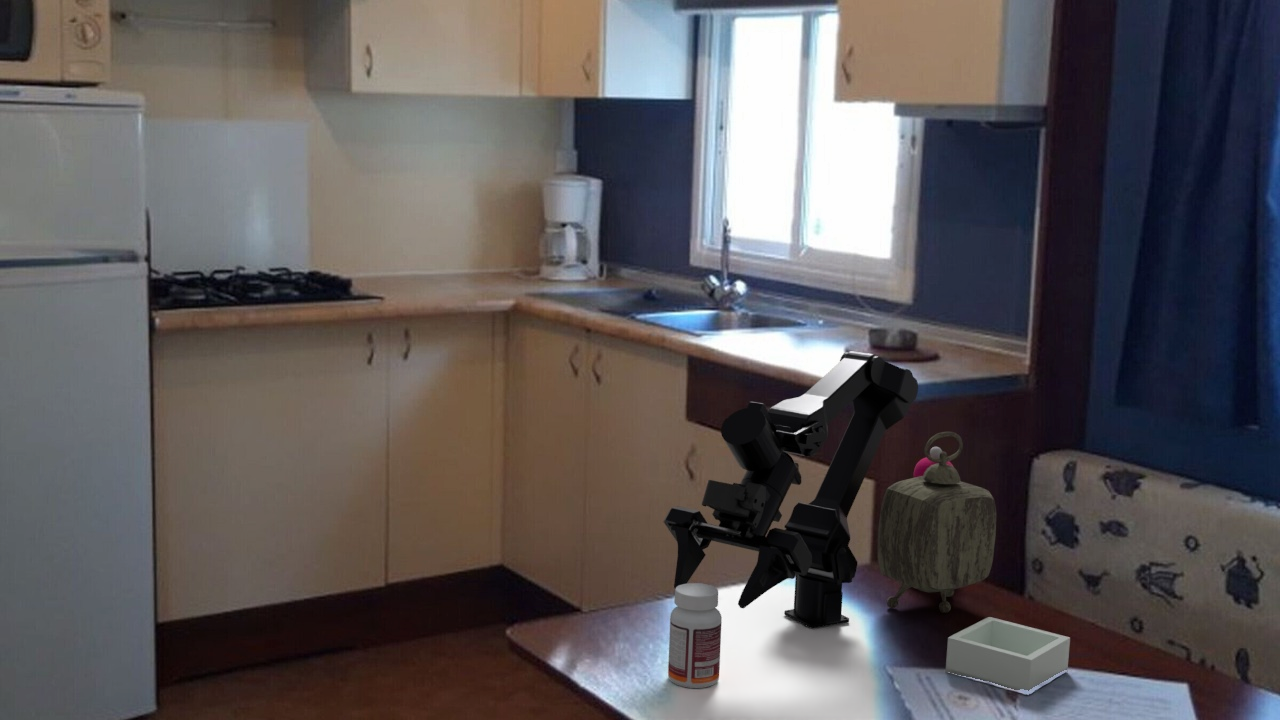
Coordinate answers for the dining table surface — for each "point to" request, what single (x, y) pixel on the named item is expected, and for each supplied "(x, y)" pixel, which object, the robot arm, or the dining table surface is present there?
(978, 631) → the sage open tray box
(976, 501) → the tabletop clock
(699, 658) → the pill bottle
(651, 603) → the dining table surface
